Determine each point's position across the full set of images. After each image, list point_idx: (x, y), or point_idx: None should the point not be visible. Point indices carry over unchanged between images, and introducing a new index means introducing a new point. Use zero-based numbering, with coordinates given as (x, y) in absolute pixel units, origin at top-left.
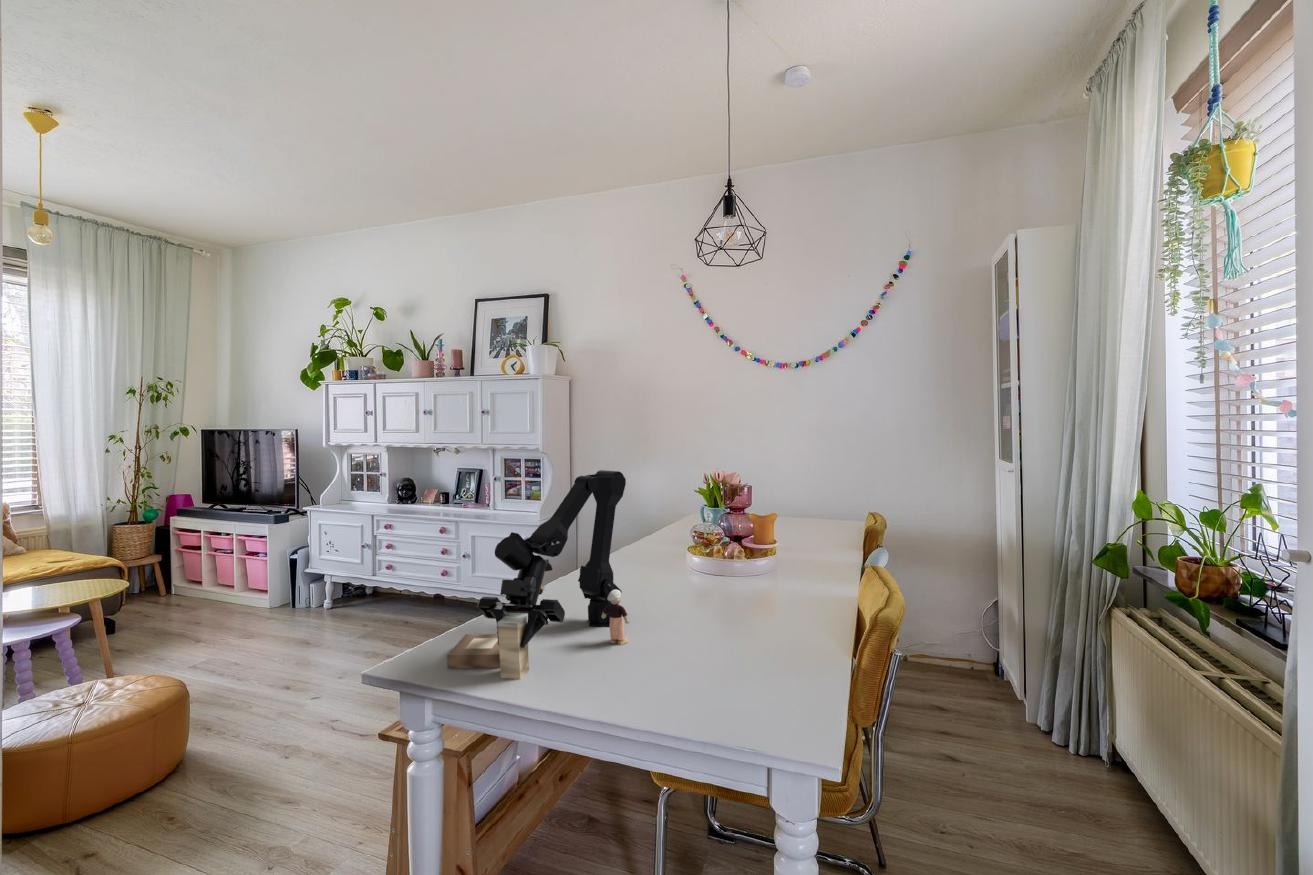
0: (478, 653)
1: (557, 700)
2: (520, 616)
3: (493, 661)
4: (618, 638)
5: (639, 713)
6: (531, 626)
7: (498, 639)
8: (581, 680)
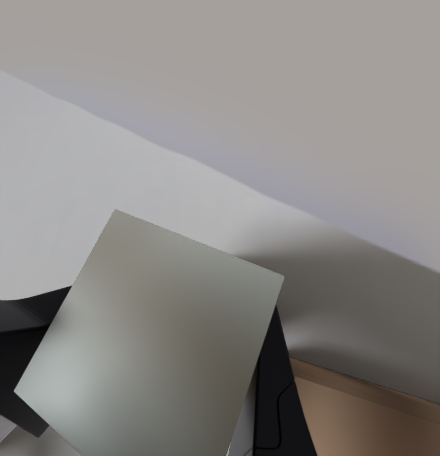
0: (374, 418)
1: (149, 159)
2: (64, 389)
3: (297, 366)
4: None
5: (59, 119)
6: (71, 286)
7: (274, 313)
8: (98, 226)
